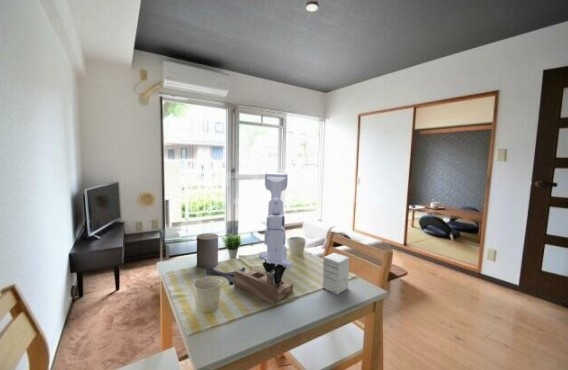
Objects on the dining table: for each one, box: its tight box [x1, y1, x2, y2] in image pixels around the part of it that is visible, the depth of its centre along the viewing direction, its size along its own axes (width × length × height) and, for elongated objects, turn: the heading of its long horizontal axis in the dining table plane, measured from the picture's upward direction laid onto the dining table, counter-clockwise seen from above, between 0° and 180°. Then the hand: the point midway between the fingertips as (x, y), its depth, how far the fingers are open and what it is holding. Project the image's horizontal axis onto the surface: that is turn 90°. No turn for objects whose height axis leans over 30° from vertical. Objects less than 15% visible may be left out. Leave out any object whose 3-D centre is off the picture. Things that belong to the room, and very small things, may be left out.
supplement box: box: [322, 252, 350, 295], centre depth 103 cm, size 7×7×13 cm
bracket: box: [206, 266, 246, 285], centre depth 113 cm, size 14×15×3 cm
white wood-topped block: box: [267, 269, 283, 288], centre depth 99 cm, size 6×3×8 cm, turn 142°
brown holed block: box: [233, 268, 294, 305], centre depth 101 cm, size 12×20×6 cm, turn 52°
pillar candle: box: [196, 232, 219, 270], centre depth 122 cm, size 10×10×15 cm
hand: (274, 281), depth 99 cm, fingers closed on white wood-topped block, 3 cm apart
